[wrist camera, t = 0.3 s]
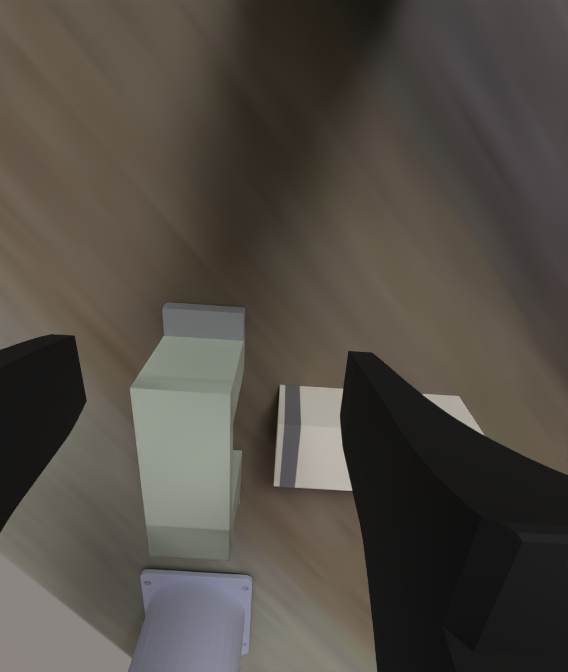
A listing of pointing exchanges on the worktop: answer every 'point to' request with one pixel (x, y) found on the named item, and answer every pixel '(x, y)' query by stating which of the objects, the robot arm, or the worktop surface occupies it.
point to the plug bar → (325, 436)
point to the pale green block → (191, 431)
